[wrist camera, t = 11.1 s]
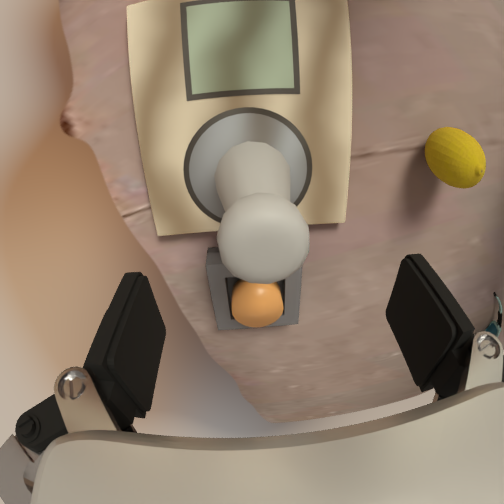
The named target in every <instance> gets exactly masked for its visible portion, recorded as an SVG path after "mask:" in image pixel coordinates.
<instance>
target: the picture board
mask: <svg viewBox="0 0 504 504" xmlns="http://www.w3.org/2000/svg"><path fill="white" fill-rule="evenodd" d="M127 33H128V51H129V64H130V76H131V86H132V95H133V104H134V112H135V119H136V126H137V133H138V139H139V146H140V152H141V158H142V163H143V169H144V174H145V179H146V185H147V190H148V194H149V199H150V204H151V209H152V213H153V218H154V222H155V226H156V230H157V235H158V236H164V235H175V234H186V233H198V232H210V231H218V229H219V226H220V223H221V220H222V217H223V214H224V213H225V210H224V208H223V205H222V203H221V200H220V198H219V195H218V193H217V189H216V183H215V178H214V175H215V172H216V169H217V165H218V162H219V160H220V159H221V158H222V157H223V156H224V155H225V154H226V152H227V151H228V150H229V149H230V148H231V147H233V146H236V145H239V144H241V143H244V142H247V141H251V142H262V143H266V144H268V145H270V146H271V147H273V148H275V149H276V150H278V151H279V152H281V154H282V155H283V157H284V158H285V160H286V161H287V163H288V165H289V166H290V181H291V184H290V202H291V203H293V204H295V205H296V207H297V209H298V210H299V212H300V213H301V215H302V217H303V218H304V220H305V221H306V223H307V225H309V224H327V223H345V216H346V207H347V196H348V184H349V171H350V155H351V132H352V59H351V38H350V24H349V12H348V2H347V0H148V1H144V2H140V3H136V4H133V5H129V6H127Z"/></svg>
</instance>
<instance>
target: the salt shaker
mask: <svg viewBox="0 0 504 504" xmlns="http://www.w3.org/2000/svg"><path fill="white" fill-rule="evenodd" d="M214 178H215V183H216V189H217V193H218V195H219V198H220V200H221V203H222V205H223V208H224V210H225V213H224V214H223V217H222V220H221V223H220V226H219V229H218V233H217V242H218V247H219V251H220V256H221V260H222V263H223V264H224V265H225V266H226V268H227V269H228V270H229V271H230V272H231V273H232V275H233V276H235V277H237V278H240V279H242V280H244V281H247V282H249V283H258V284H271V283H274V282H277V281H280V280H283V279H286V278H288V277H289V276H290V275H292V274H293V273H294V272H296V271H297V270H298V269H299V268H301V267H302V265H303V263H304V261H305V259H306V257H307V255H308V253H309V227H308V225H307V223H306V221H305V220H304V218H303V217H302V215H301V213H300V212H299V210H298V209H297V207H296V205H295V204H293V203H291V202H290V184H291V181H290V166H289V165H288V163H287V161H286V160H285V158H284V157H283V155H282V154H281V152H279V151H278V150H276V149H275V148H273V147H271V146H270V145H268V144H266V143H262V142H251V141H247V142H244V143H241V144H239V145H236V146H233V147H231V148H230V149H229V150H228V151H227V152H226V154H225V155H224V156H223V157H222V158H221V159H220V160H219V162H218V165H217V169H216V172H215V175H214Z"/></svg>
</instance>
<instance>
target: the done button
mask: <svg viewBox="0 0 504 504" xmlns="http://www.w3.org/2000/svg"><path fill="white" fill-rule="evenodd" d="M282 313H283V301H282V296H281V291H280V287H279V285H278V283H277V282H274V283H271V284H258V283H249V282H247V281H244V280H242V279H240V280H238V281H237V282H236V283H235V285H234V287H233V289H232V314H233V317H234V318H235V319H236V321H238V322H239V323H241V324H242V325H245V326H248V327H264V326H267V325H270V324H272V323H274V322H275V321H277V320H278V319H279V318H280V316H281V315H282Z"/></svg>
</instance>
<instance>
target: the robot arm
mask: <svg viewBox="0 0 504 504" xmlns="http://www.w3.org/2000/svg"><path fill="white" fill-rule="evenodd" d="M386 318H387V321H388V323H389V325H390V327H391V329H392V331H393V333H394V336H395V338H396V340H397V342H398V344H399V347H400V349H401V351H402V353H403V356H404V358H405V360H406V363H407V365H408V367H409V370H410V372H411V375H412V377H413V380H414V382H415V384H416V385H417V386H419V387H420V389H421V392H424V391H427V390H430V389H433V387H434V389H435V391H436V393H435V396H434V399H433V402H432V403H430V404H427V405H425V406H422V407H419V408H415V409H412V410H409V411H406V412H402V413H399V414H396V415H392V416H389V417H384V418H381V419H377V420H373V421H368V422H364V423H360V424H355V425H350V426H345V427H339V428H334V429H328V430H322V431H315V432H309V433H301V434H291V435H281V436H268V437H251V438H194V437H176V436H161V435H152V434H142V433H137V431H136V430H135V428H134V427H133V425H132V424H133V420H134V417H138V418H145V415H146V411H150V409H151V405H152V399H153V394H154V389H155V383H156V378H157V373H158V368H159V364H160V359H161V354H162V349H163V344H164V340H165V336H166V329H165V325H164V322H163V320H162V317H161V315H160V312H159V309H158V306H157V304H156V301H155V298H154V295H153V292H152V289H151V287H150V284H149V281H148V278H147V276H143V274H142V273H141V272H131V273H125V274H124V276H123V278H122V280H121V282H120V284H119V286H118V289H117V291H116V293H115V295H114V297H113V299H112V302H111V304H110V306H109V308H108V310H107V311H106V313H105V315H104V317H103V319H102V321H101V324H100V326H99V328H98V331H97V333H96V336H95V338H94V340H93V343H92V345H91V348H90V350H89V353H88V355H87V358H86V360H85V363H84V366H83V368H81V367H70V368H68V369H66V370H64V371H63V372H61V374H60V375H59V376H58V377H57V379H56V381H55V385H54V393H55V394H53V395H52V396H50V397H48V398H47V399H45V400H44V401H42V402H41V403H39V404H37V405H36V406H34V407H33V408H31V409H29V410H28V411H26V412H25V413H23V414H22V415H21V416H20V417H19V419H18V420H17V423H16V430H15V432H16V436H14V435H13V434H12V435H11V436H10V437H9V439H8V440H7V441H6V442H5V443H4V444H3V445H2V447H1V448H0V497H1V498H2V500H3V501H4V503H5V504H504V355H503V347H502V344H501V342H500V341H499V339H498V338H497V337H496V336H495V335H494V334H492V333H490V332H486V331H481V332H478V333H477V334H476V335H475V336H474V334H473V331H474V329H475V328H474V326H473V325H472V323H471V322H470V320H469V319H468V317H467V316H466V314H465V313H464V311H463V310H462V308H461V307H460V305H459V304H458V302H457V301H456V299H455V298H454V297H453V295H452V294H451V292H450V291H449V290H448V288H447V287H446V285H445V284H444V283H443V281H442V280H441V279H440V277H439V276H438V275H437V273H436V272H435V271H434V270H433V268H432V267H431V266H430V264H429V263H428V262H427V261H426V259H425V258H424V257H423V256H422V255H421V254H410V255H406V256H405V258H404V259H403V260H402V261H401V264H400V267H399V271H398V274H397V278H396V281H395V284H394V287H393V291H392V294H391V297H390V300H389V303H388V306H387V308H386Z"/></svg>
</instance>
